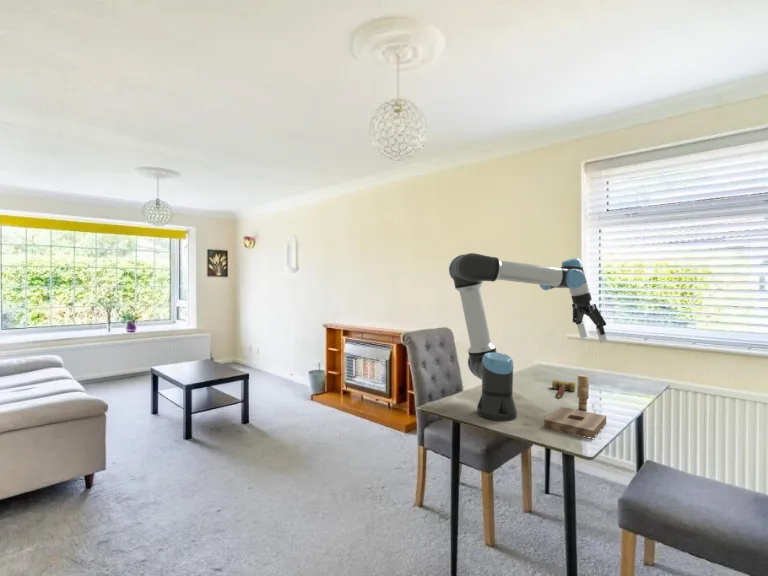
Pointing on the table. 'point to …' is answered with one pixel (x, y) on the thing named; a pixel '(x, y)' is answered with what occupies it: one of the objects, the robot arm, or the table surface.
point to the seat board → (575, 422)
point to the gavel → (563, 387)
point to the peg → (583, 391)
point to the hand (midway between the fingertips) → (593, 339)
